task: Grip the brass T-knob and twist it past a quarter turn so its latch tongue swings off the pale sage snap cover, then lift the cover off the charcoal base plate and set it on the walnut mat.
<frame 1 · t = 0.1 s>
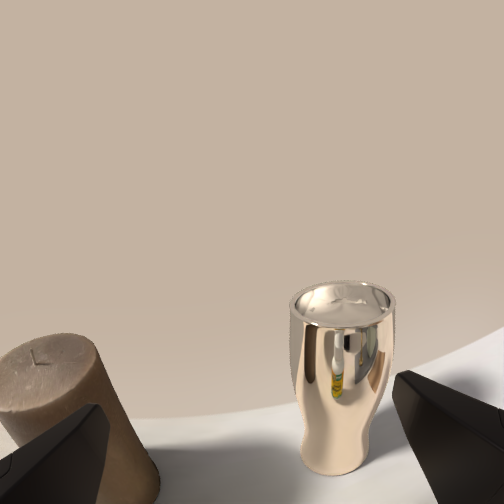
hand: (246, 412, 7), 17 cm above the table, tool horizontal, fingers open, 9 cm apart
pillar candle: (111, 484, 18), on the table
silver metal tumbler: (334, 451, 21), on the table
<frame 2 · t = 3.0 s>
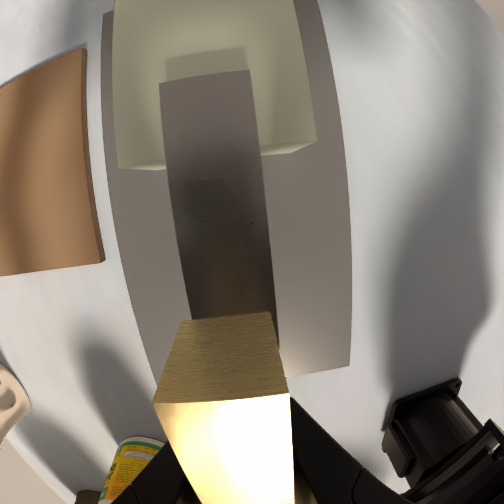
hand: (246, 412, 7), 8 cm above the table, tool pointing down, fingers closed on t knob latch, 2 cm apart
supplement bottle: (151, 452, 19), on the table
snap cover: (213, 76, 12), point 1 cm above the table, touching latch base
silver metal tumbler: (6, 386, 17), on the table
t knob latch: (232, 300, 9), point 6 cm above the table, hinge at 0.0°, touching gripper
walnut mat: (22, 170, 13), on the table
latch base: (226, 182, 14), on the table
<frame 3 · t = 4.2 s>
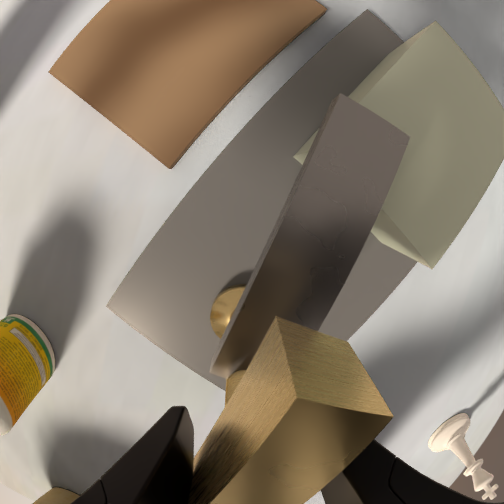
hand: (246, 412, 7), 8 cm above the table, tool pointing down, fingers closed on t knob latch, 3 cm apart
supplement bottle: (30, 344, 16), on the table
snap cover: (390, 142, 13), point 1 cm above the table, touching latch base
plant pot: (77, 501, 22), on the table
chess piece: (447, 430, 20), on the table
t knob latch: (282, 309, 9), point 6 cm above the table, hinge at 16.4°, touching gripper
walnut mat: (179, 28, 12), on the table
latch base: (320, 214, 15), on the table
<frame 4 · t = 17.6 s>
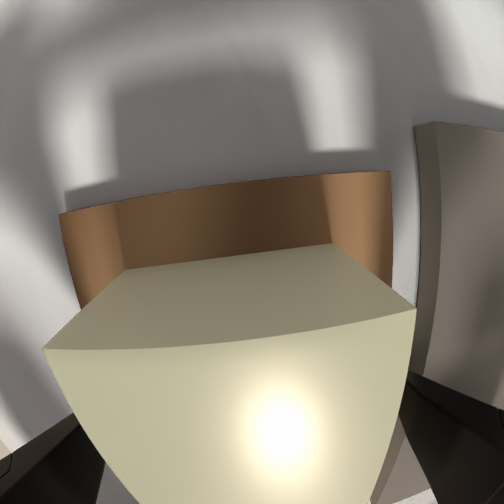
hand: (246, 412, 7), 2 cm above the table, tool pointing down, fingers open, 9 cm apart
snap cover: (244, 374, 9), point 1 cm above the table, touching walnut mat
walnut mat: (243, 365, 10), on the table
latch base: (488, 357, 11), on the table
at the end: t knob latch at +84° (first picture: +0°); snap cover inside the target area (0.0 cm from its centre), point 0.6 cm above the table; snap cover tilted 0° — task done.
